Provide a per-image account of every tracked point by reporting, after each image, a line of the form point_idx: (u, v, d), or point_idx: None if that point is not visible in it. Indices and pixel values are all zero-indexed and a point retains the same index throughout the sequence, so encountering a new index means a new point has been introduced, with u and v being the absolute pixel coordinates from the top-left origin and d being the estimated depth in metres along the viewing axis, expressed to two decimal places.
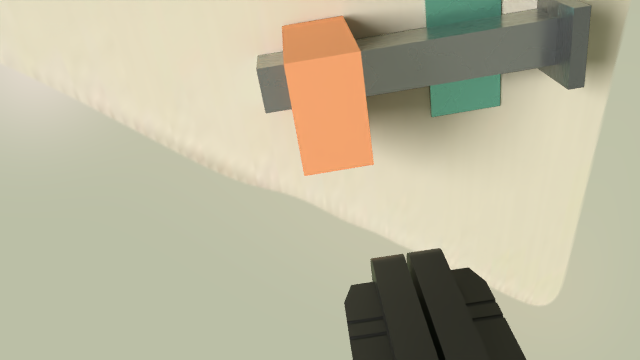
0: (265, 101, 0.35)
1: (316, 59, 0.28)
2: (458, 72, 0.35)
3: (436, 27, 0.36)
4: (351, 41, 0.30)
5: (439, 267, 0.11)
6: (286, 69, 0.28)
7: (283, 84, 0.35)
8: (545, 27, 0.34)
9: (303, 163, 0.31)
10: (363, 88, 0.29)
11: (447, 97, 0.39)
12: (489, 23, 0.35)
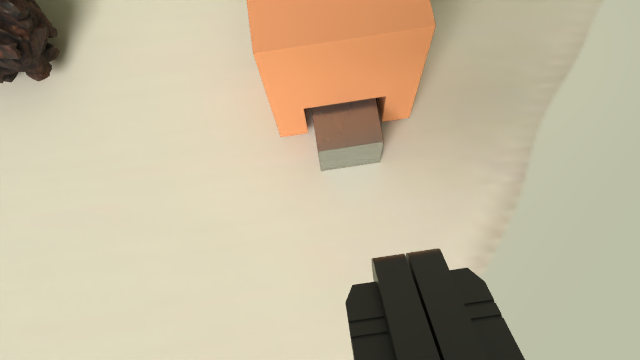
0: (365, 141, 0.25)
1: (249, 11, 0.20)
2: None
3: None
4: None
5: (438, 267, 0.11)
6: (261, 49, 0.20)
7: (341, 118, 0.25)
8: None
9: (413, 27, 0.19)
10: None
11: None
12: None
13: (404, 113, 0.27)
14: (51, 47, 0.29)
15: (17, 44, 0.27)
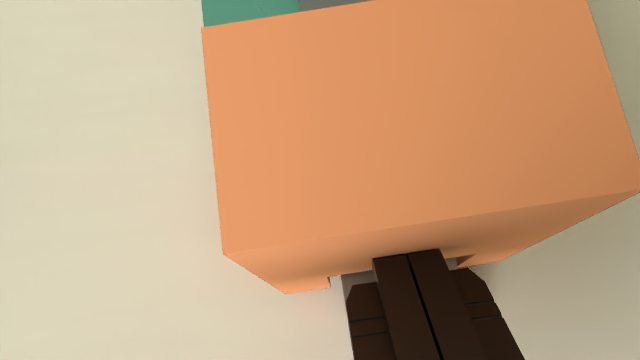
0: None
1: (215, 149, 0.09)
2: None
3: None
4: None
5: (438, 267, 0.11)
6: (241, 244, 0.08)
7: None
8: None
9: (595, 191, 0.08)
10: (315, 13, 0.09)
11: None
12: None
13: (494, 260, 0.16)
14: None
15: None
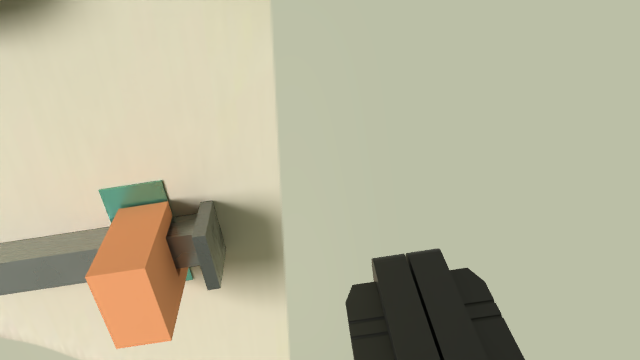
0: None
1: (110, 273, 0.36)
2: None
3: None
4: (148, 249, 0.38)
5: (438, 267, 0.11)
6: (87, 280, 0.36)
7: None
8: (190, 239, 0.42)
9: (113, 340, 0.39)
10: (152, 291, 0.37)
11: None
12: None
13: None
14: None
15: None
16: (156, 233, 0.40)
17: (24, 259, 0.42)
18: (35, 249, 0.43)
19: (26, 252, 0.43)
